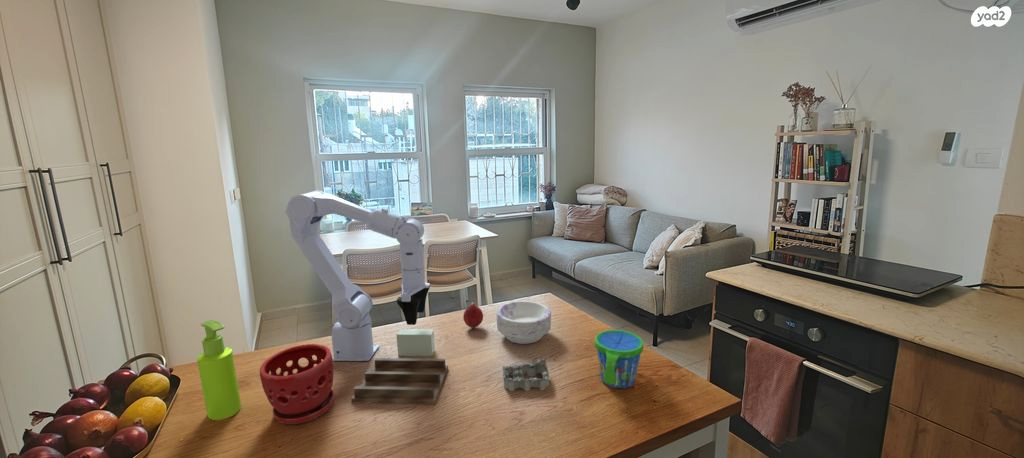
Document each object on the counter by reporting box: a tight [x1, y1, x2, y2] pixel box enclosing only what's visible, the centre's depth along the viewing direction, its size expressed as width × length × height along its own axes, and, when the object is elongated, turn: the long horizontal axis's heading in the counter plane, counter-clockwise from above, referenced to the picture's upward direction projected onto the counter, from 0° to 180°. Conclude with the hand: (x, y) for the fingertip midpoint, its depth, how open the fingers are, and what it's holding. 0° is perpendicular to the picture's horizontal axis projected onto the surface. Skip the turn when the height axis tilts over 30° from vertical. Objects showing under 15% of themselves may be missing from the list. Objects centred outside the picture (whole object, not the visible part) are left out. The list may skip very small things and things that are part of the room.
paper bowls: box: [496, 300, 552, 345], centre depth 119 cm, size 15×15×8 cm
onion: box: [463, 301, 484, 329], centre depth 125 cm, size 6×6×8 cm
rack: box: [350, 357, 449, 405], centre depth 97 cm, size 18×14×3 cm
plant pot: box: [259, 343, 335, 425], centre depth 87 cm, size 13×13×12 cm
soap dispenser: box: [196, 319, 242, 421], centre depth 86 cm, size 6×7×20 cm
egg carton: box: [502, 358, 551, 392], centre depth 97 cm, size 11×8×4 cm
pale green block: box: [396, 328, 436, 357], centre depth 111 cm, size 9×3×6 cm, turn 87°
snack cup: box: [594, 329, 644, 389], centre depth 96 cm, size 16×10×10 cm
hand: (415, 317), depth 110 cm, fingers open, 7 cm apart
